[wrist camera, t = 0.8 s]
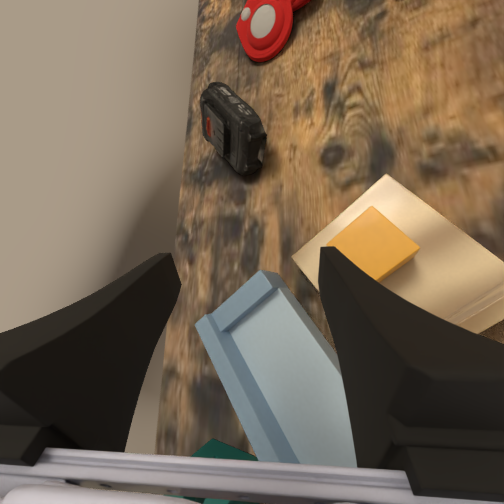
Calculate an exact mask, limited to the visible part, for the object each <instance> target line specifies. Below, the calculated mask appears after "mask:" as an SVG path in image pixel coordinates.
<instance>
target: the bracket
mask: <svg viewBox="0 0 504 504" xmlns="http://www.w3.org/2000/svg"><path fill="white" fill-rule="evenodd" d="M191 457H201V458H216V459H232V460H247V461H258V459H257V457H255V456H253V455H250V454H248V453H246V452H243V451H241V450H239V449H236V448H234V447H231V446H229V445H227V444H224V443H222V442H219V441H217V440H215V439H211V440H210V441H209V442H208V443H206V444H205V445H204V446H203V447H201V448H200V449H199V450H198V451H197V452H195V453H194V454H193V455H192V456H191ZM163 496H170V497H177V498H183V499H187V500H190V501H194V502H197V503H201V504H259V503H257V502H245V501H234V500H222V499H210V498H198V497H187V496H175V495H163Z"/></svg>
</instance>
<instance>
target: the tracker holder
mask: <svg viewBox="0 0 504 504" xmlns="http://www.w3.org/2000/svg"><path fill="white" fill-rule="evenodd" d="M310 1H311V0H247V2H246V5H245V7H244V9H243V11H242V14H241V16H240V18H239V20H238V22H237V25H236V28H237V32H238V35H239V38H240V41H241V43H242V45H243V48H244V50H245V52H246V53H247V55H248V56H249V58H250V59H252V60H253V61H256V62H264V61H267V60H270V59H272V58H273V57H274V56H276V55H277V54H278V53H279V52H280V51H281V49H282V48H283V47H284V45H285V44H286V42H287V40H288V38H289V35H290V33H291V29H292V24H293V12H294V11H296V10H298V9H299V8H301V7H303V6H304V5H306V4H307V3H308V2H310Z"/></svg>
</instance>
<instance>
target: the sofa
mask: <svg viewBox="0 0 504 504" xmlns="http://www.w3.org/2000/svg"><path fill="white" fill-rule="evenodd" d="M195 327H196V329H197V331H198V333H199V335H200V337H201V339H202V342H203V344H204V346H205V348H206V350H207V352H208V354H209V356H210V359H211V361H212V363H213V365H214V367H215V369H216V371H217V373H218V376H219V378H220V380H221V382H222V384H223V386H224V388H225V391H226V393H227V395H228V397H229V399H230V401H231V403H232V405H233V408H234V410H235V412H236V414H237V416H238V418H239V420H240V422H241V425H242V427H243V429H244V431H245V433H246V435H247V437H248V439H249V442H250V444H251V446H252V448H253V450H254V452H255V454H256V457H257V459H258V461H262V462H278V463H293V464H309V465H324V466H340V467H355V468H357V462H356V455H355V449H354V443H353V437H352V430H351V425H350V419H349V413H348V407H347V402H346V396H345V391H344V386H343V380H342V375H341V370H340V365H339V360H338V355H337V354H336V352H335V351H334V350H333V348H332V347H331V346H330V344H329V343H328V342H327V340H326V339H325V337H324V336H323V335H322V333H321V332H320V331H319V329H318V328H317V326H316V325H315V324H314V322H313V321H312V320H311V318H310V317H309V316H308V314H307V313H306V311H305V310H304V309H303V307H302V306H301V305H300V303H299V302H298V301H297V299H296V298H295V296H294V295H293V294H292V292H291V291H290V290H289V288H288V287H287V285H286V284H285V283H284V281H283V280H282V279H281V277H280V276H279V275H278V273H275V272H270V271H264V270H259V271H258V272H257V273H256V274H255V275H254V276H253V277H252V278H250V279H249V280H248V281H247V282H246V283H245V284H244V285H243V286H242V287H241V288H239V289H238V290H237V291H236V292H235V293H234V294H233V295H232V296H231V297H229V298H228V299H227V300H226V301H225V302H224V303H223V304H222V305H221V306H220V307H218V308H217V309H216V310H215V311H214V312H213V313H212V314H207V315H204V316H203V317H202V318H201V319H200V320H199V321H198V322H197V323H196V324H195Z"/></svg>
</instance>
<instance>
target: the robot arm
mask: <svg viewBox="0 0 504 504" xmlns="http://www.w3.org/2000/svg"><path fill="white" fill-rule="evenodd" d="M181 285H182V284H181V281H180V278H179V276H178V273H177V270H176V267H175V264H174V261H173V258H172V255H171V253H159V254H157V255H155V256H153V257H151V258H150V259H148V260H146V261H145V262H143V263H142V264H140V265H139V266H137V267H136V268H134V269H133V270H131V271H130V272H128V273H126V274H125V275H124V276H122V277H120V278H119V279H117V280H115V281H113V282H112V283H110V284H108V285H107V286H105V287H103V288H102V289H100V290H98V291H97V292H95V293H93V294H91V295H89V296H87V297H85V298H83V299H81V300H79V301H77V302H75V303H73V304H71V305H69V306H67V307H65V308H62V309H60V310H58V311H56V312H53V313H51V314H49V315H47V316H44V317H42V318H40V319H37V320H35V321H32V322H30V323H27V324H24V325H22V326H19V327H16V328H14V329H11V330H8V331H5V332H2V333H0V504H201V503H197V502H194V501H190V500H187V499H183V498H177V497H170V496H163V495H175V496H187V497H198V498H210V499H222V500H234V501H245V502H257V503H269V504H504V344H502V343H499V342H497V341H494V340H491V339H489V338H486V337H484V336H481V335H478V334H476V333H473V332H471V331H469V330H466V329H464V328H462V327H460V326H457V325H455V324H453V323H450V322H448V321H446V320H444V319H442V318H440V317H438V316H436V315H433V314H432V313H430V312H428V311H426V310H424V309H422V308H420V307H418V306H416V305H414V304H412V303H411V302H409V301H407V300H405V299H404V298H402V297H400V296H399V295H397V294H395V293H394V292H392V291H390V290H389V289H387V288H386V287H384V286H383V285H381V284H380V283H379V282H377V281H376V280H374V279H373V278H372V277H370V276H369V275H368V274H366V273H365V272H364V271H363V270H361V269H360V268H359V267H358V266H356V265H355V264H354V263H353V262H352V261H351V260H349V259H348V258H347V257H346V256H345V255H344V254H343V253H341V252H340V251H339V250H338V249H337V248H336V247H335V246H326V247H320V259H319V272H318V285H319V291H320V297H321V301H322V305H323V308H324V311H325V315H326V318H327V321H328V324H329V327H330V331H331V334H332V337H333V340H334V343H335V347H336V351H337V355H338V360H339V365H340V370H341V375H342V380H343V386H344V391H345V396H346V402H347V407H348V413H349V419H350V425H351V430H352V437H353V443H354V449H355V455H356V462H357V468H355V467H340V466H324V465H309V464H293V463H278V462H262V461H247V460H232V459H216V458H201V457H185V456H170V455H154V454H139V453H124V451H125V447H126V442H127V439H128V434H129V430H130V426H131V422H132V418H133V415H134V411H135V408H136V404H137V401H138V397H139V394H140V390H141V387H142V384H143V381H144V378H145V375H146V372H147V369H148V366H149V363H150V360H151V357H152V354H153V352H154V349H155V346H156V344H157V342H158V340H159V338H160V336H161V334H162V332H163V329H164V327H165V325H166V323H167V321H168V319H169V317H170V315H171V313H172V310H173V308H174V306H175V304H176V301H177V298H178V295H179V292H180V288H181ZM90 488H93V489H90ZM99 489H105V490H99ZM111 490H116V491H111ZM123 491H128V492H123ZM134 492H140V493H134ZM146 493H151V494H146ZM157 494H163V495H157Z"/></svg>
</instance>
